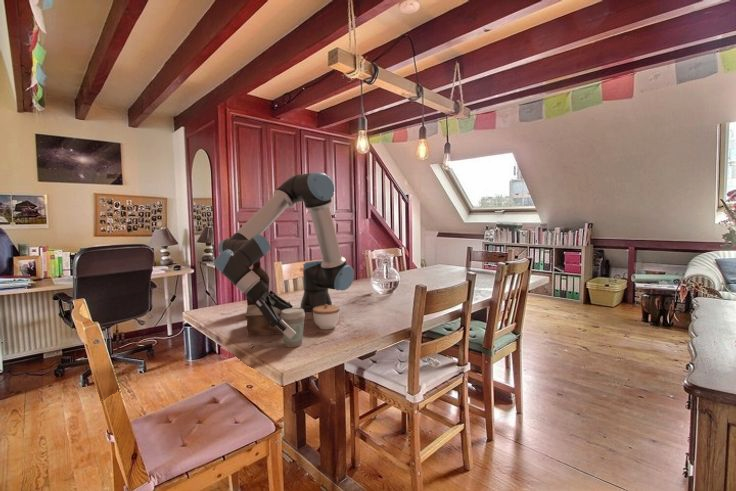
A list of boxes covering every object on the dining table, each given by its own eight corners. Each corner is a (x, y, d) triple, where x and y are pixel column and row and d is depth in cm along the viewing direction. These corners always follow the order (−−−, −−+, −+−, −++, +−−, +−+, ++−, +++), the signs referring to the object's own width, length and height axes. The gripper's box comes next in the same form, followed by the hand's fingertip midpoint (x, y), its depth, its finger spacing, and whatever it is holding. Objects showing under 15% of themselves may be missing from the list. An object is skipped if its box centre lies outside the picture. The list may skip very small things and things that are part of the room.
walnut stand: (290, 320, 153) (289, 302, 152) (292, 332, 137) (292, 312, 136) (248, 324, 148) (247, 305, 148) (246, 337, 132) (245, 316, 131)
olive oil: (253, 317, 159) (251, 261, 157) (242, 312, 166) (240, 259, 164) (274, 312, 166) (273, 259, 164) (262, 308, 174) (260, 257, 172)
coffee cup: (277, 348, 120) (276, 313, 119) (285, 339, 129) (284, 307, 128) (302, 348, 120) (302, 313, 119) (308, 340, 128) (307, 307, 127)
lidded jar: (307, 327, 143) (306, 304, 142) (326, 321, 151) (326, 299, 150) (326, 333, 136) (325, 309, 135) (345, 326, 144) (345, 303, 143)
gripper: (257, 287, 135) (297, 326, 136) (231, 303, 111) (280, 350, 112) (270, 273, 135) (311, 312, 136) (247, 286, 110) (297, 333, 111)
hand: (297, 329), depth 124 cm, fingers open, 13 cm apart
